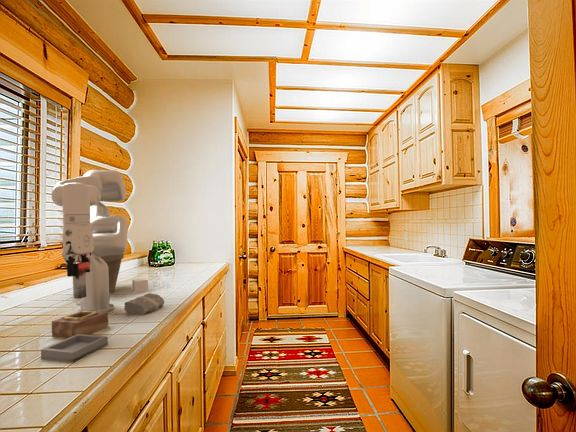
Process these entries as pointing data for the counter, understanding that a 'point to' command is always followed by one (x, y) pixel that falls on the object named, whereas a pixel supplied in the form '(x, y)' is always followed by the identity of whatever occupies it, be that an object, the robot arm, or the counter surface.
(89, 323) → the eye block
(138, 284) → the pale pink cube
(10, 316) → the counter surface
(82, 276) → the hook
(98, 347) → the tray
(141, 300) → the decorative stone
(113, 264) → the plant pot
